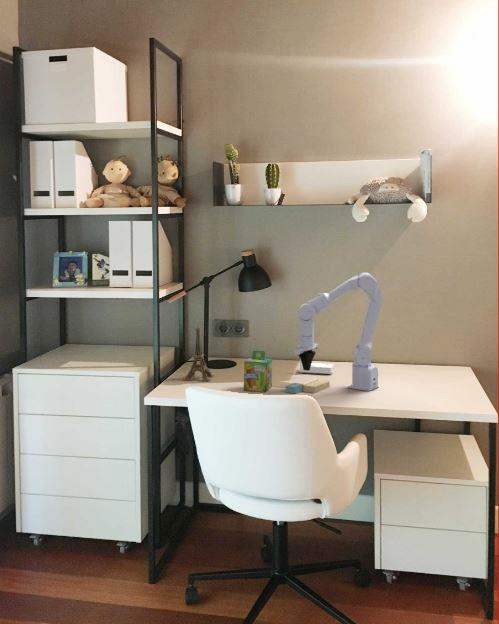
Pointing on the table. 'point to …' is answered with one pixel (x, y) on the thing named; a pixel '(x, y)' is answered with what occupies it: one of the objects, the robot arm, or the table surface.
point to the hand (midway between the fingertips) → (306, 370)
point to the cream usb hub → (316, 386)
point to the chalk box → (258, 373)
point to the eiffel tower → (202, 365)
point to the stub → (294, 388)
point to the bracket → (318, 368)
